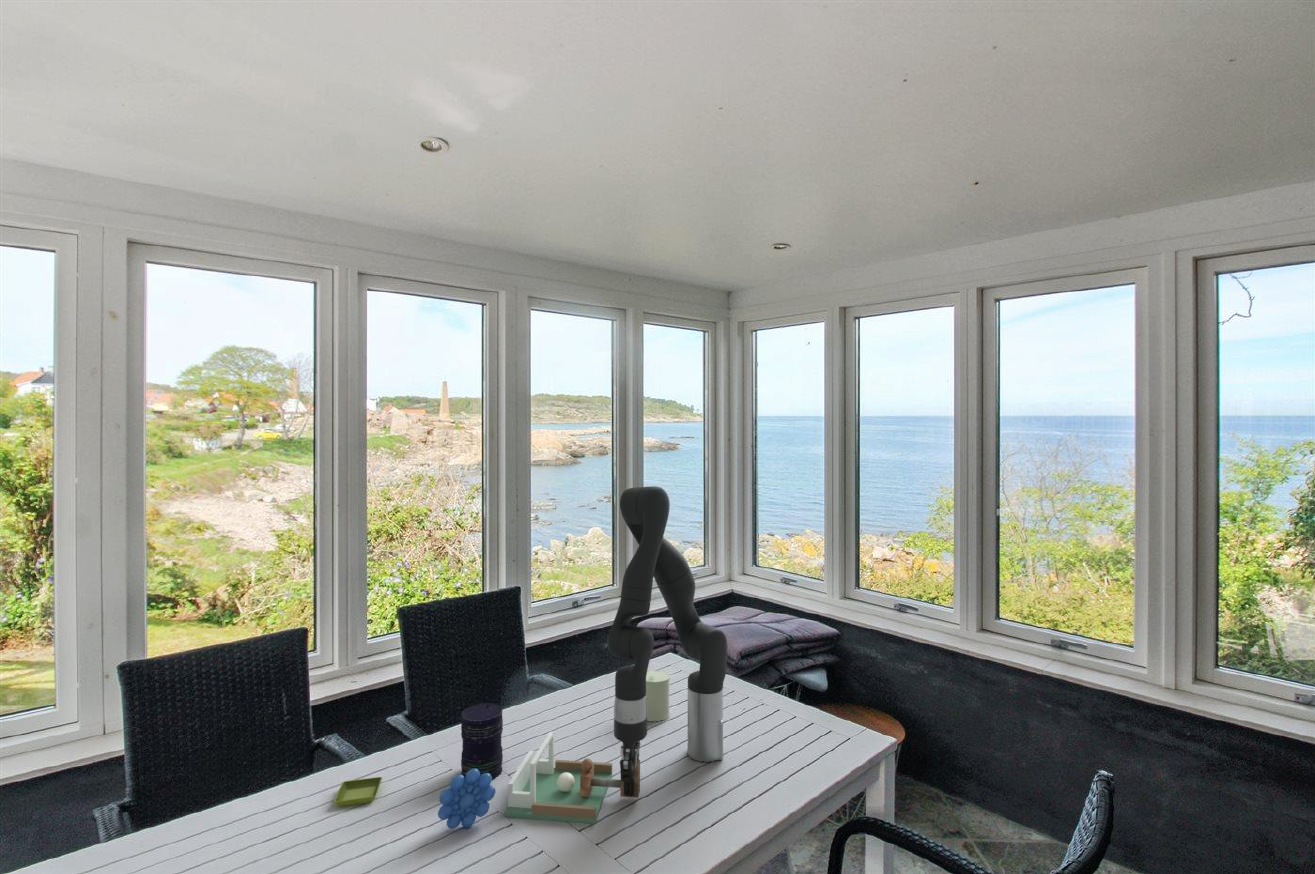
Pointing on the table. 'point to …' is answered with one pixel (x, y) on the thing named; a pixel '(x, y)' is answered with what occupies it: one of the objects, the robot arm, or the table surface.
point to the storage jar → (482, 739)
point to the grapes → (466, 799)
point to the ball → (565, 782)
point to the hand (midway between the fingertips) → (630, 790)
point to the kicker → (604, 780)
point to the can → (657, 695)
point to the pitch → (554, 789)
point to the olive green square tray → (357, 791)
